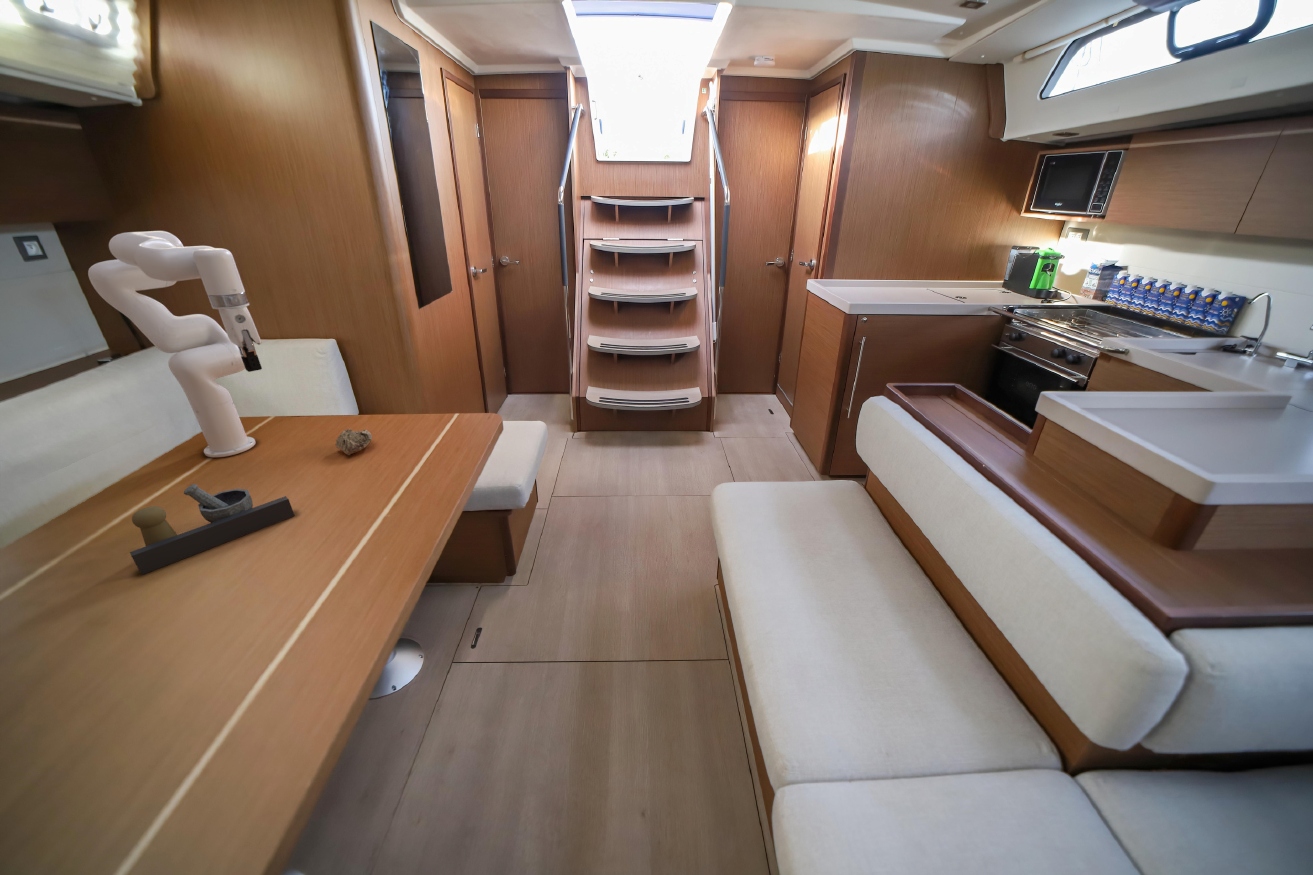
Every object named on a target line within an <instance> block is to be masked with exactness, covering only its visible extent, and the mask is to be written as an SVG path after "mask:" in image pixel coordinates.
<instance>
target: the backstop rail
mask: <svg viewBox="0 0 1313 875" xmlns="http://www.w3.org/2000/svg"><path fill="white" fill-rule="evenodd" d="M293 517H295V512H294V510H293V507H292V504H291V502H290V499H289V498H288V497H287V496H286V495H285V496H282V497H279V498H276V499H273V500H271V501H268V502H265V503H262V504H258V505H257V506H253V507H252V508H251V509H248V510H246V511H243V512H240V513H237V514H234V515H232V516H229V517H226V518H223V519H220V520H218V521H215V522H212V523H210V522H208V523H207V524H204V525H201V526H198V527H196V528H193V529H190V530H187V531H184V532H182V533H179V534H177V535H176V536H173V537H170V538H168V539H165V540H162V541H159V542H156V543H154V544H151V545H148V546H145V545H144V546H143V547H140V548H137V549H134V550H131V551H129V554H130V557H131V558H132V560H133V562H134V564H135V565H136V567H137V569H138V570H139V572H140V574H141V575H142V576H143V575H145V574H146V575H147V574H149V573H151V572H153V571H157V570H159V569H162V568H164V567H166V566H169V565H171V564H174V563H177V562H179V561H181V560H186V559H187V558H189V557H192V556H194V555H198V554H200V553H203V552H205V551H207V550H210V549H214V548H216V547H219V546H221V545H223V544H226V543H228V542H231V541H234V540H236V539H239V538H241V537H244V536H247V535H249V534H252V533H254V532H257V531H259V530H263V529H265V528H267V527H270V526H272V525H275V524H278V523H280V522H283V521H285V520H288V519H291V518H293Z"/></svg>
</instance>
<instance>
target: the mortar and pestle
mask: <svg viewBox="0 0 1313 875" xmlns="http://www.w3.org/2000/svg"><path fill="white" fill-rule="evenodd" d="M183 495H185V496H189V497H190V498H192V499H193V500H194V501H196V502H197V503H198V505H197V506H198V510H199V512H200V514H201V516H202V518H203V519H204V520H205V521H207V523H212V522H215V521H218V520H220V519H223V518H226V517H229V516H232V515H234V514H237V513H240V512H243V511H246V510H248V509H251V508H254V503H253V499H252V495H251V494H250V491H249V490H248V489H243V488H233V489H229V490H224V491H223V490H222V491H219V492H218V493H215V494H210V493H209V492H207V491H206V490H203V489H202V488H200V487H199V486H198V485H197V484H196V483H193V484H191V485H189V486H187V487H186V488H185V489H184V491H183Z"/></svg>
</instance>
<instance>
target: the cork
mask: <svg viewBox="0 0 1313 875" xmlns="http://www.w3.org/2000/svg"><path fill="white" fill-rule="evenodd" d="M166 518H167V513H166V510H165V509H164V508H163V507H160V506H157V505H155V506H154V505H153V506H147V507H143V508H141V509H139V510H137V511H136V512H134V513H133V514H132V517H131V521H132V524H133V525H134V526H135V527H137V528H139V529H140V532H141V536H142V539H143V543H144V547H145V546H148V545H151V544H154V543H156V542H159V541H162V540H165V539H168V538H170V537H173V536H176V535H178V533H177V532H176V531H175V529H174V528H173V527H172V526H171V524H170V523H169V522H168V521H167V519H166Z"/></svg>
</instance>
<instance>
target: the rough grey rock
mask: <svg viewBox="0 0 1313 875" xmlns="http://www.w3.org/2000/svg"><path fill="white" fill-rule="evenodd" d="M372 439H373V434H372V433H371V432H370V431H369V430H368V429H363V430H352V429H351V428H347V429H345V430H343V431H342V432H341V433H340V434H339V435H338V437H337V439H336V440H335V442H336V443H335V446H336V448H337V449H338V450H340V451H342V453H344V454H346V455H347V456H351V455H352V454H355V453H357V452H359V451H362V450H363V449H365V448H366V447H367V446H368V445H370V443H371V442H372Z"/></svg>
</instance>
